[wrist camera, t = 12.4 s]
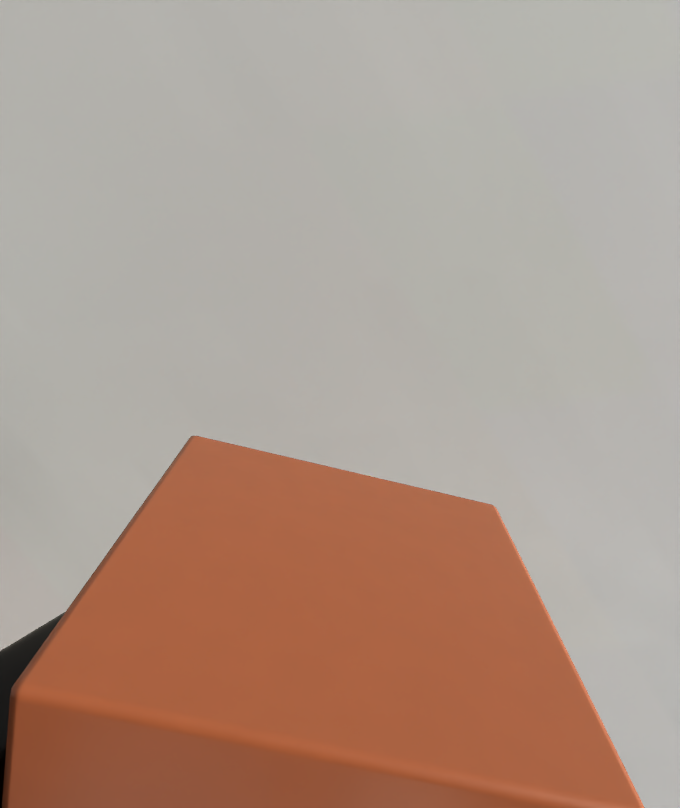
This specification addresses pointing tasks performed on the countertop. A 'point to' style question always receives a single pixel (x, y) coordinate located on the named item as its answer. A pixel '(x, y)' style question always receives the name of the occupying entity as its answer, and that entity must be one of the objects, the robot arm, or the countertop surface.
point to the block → (306, 657)
